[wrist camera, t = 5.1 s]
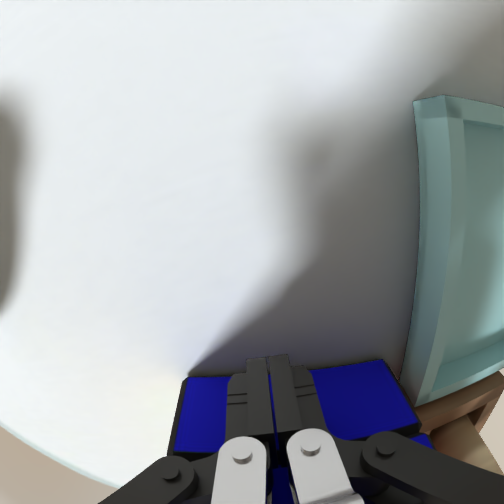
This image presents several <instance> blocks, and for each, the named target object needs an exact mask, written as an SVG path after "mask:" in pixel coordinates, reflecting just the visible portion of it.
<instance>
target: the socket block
mask: <svg viewBox="0 0 504 504" xmlns="http://www.w3.org/2000/svg"><path fill="white" fill-rule="evenodd" d="M401 388H402V389H403V391H404V393H405V395H406V396H407V398H408V400H409V402H410V403H411V405H412V407H413V409H414V410H415V412H416V414H417V416H418V417H419V419H420V421H421V423H422V427H421V429H420V431H419V432H421V433H426V434H427V435H430V432H431V430H432V429H435V428H437V427H439V426H442V425H444V424H446V423H448V422H451V421H453V420H455V419H457V418H459V417H461V416H463V415H465V414H466V415H467V417H468V418H469V420H470V421H471V423H472V424H473V426H474V427H475V429H476V430H477V432H478V433H479V432H480V431H481V429H482V428H483V426H484V424H485V423H486V421H487V419H488V417H489V416H490V414H491V412H492V410H493V409H494V407H495V405H496V403H497V401H498V399H499V397H500V395H501V394H502V392H503V390H504V376H503V375H502V374H501V373H500V372H499V370H498V371H497V372H495V373H493V374H491V375H489V376H487V377H485V378H483V379H481V380H479V381H477V382H475V383H473V384H471V385H468V386H466V387H464V388H462V389H460V390H457V391H455V392H453V393H450V394H448V395H445V396H443V397H441V398H438V399H436V400H433V401H430V402H428V403H425V404H422V405H420V406H417V407H414V406H413V404H412V402H411V400H410V399H409V397H408V395H407V394H406V392H405V390H404V388H403V387H402V386H401Z"/></svg>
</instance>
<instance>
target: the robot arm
mask: <svg viewBox="0 0 504 504" xmlns="http://www.w3.org/2000/svg"><path fill="white" fill-rule="evenodd" d="M268 359H269V367H270V375H271V384H272V392H273V401H274V409H275V418H276V426H277V435H278V443H279V452H280V460H281V468H284V467H287V468H288V476H289V486H290V491H291V495H292V499H293V504H364V503H365V504H504V476H503V475H500V474H497V473H494V472H491V471H488V470H485V469H482V468H480V467H477V466H474V465H471V464H469V463H466V462H463V461H461V460H458V459H456V458H453V457H451V456H448V455H446V454H443V453H441V452H438V451H436V450H434V449H431V448H429V447H427V446H424V445H422V444H420V443H417V442H415V441H413V440H411V439H409V438H406V437H404V436H402V435H400V434H398V433H395V432H391V431H383V432H378V433H376V434H374V435H372V436H370V437H369V438H368V439H367V440H366V441H348V440H343V439H340V438H337V437H335V436H334V435H332V434H331V433H330V432H329V430H328V429H327V427H326V424H325V420H324V417H323V413H322V409H321V406H320V402H319V399H318V395H317V391H316V388H315V385H314V381H313V377H312V374H311V373H310V372H309V371H308V370H307V369H306V368H305V367H304V366H303V365H302V366H295V367H290V363H289V358H288V354H284V355H277V356H269V357H268ZM246 365H247V373H237V374H233V376H232V378H231V379H230V381H229V382H228V388H227V409H226V432H225V441H224V444H223V445H222V447H221V448H220V450H219V451H217V452H216V453H215V454H213V455H211V456H209V457H207V458H203V459H200V460H196V461H192V462H189V461H188V460H186V459H185V458H182V457H179V456H166V457H163V458H160V459H158V460H157V461H155V462H154V463H153V464H152V465H150V466H149V467H148V468H146V469H145V470H144V471H143V472H141V473H140V474H139V475H137V476H136V477H135V478H133V479H132V480H131V481H129V482H128V483H127V484H125V485H124V486H122V487H121V488H120V489H118V490H117V491H116V492H114V493H113V494H111V495H110V496H108V497H107V498H106V499H104V500H103V501H101V502H100V503H98V504H273V485H274V479H273V469H277V468H279V467H278V458H277V449H276V440H275V431H274V421H273V412H272V403H271V395H270V386H269V378H268V370H267V362H266V357H261V358H252V359H247V360H246Z"/></svg>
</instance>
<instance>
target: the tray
mask: <svg viewBox="0 0 504 504" xmlns="http://www.w3.org/2000/svg"><path fill="white" fill-rule="evenodd" d="M413 107H414V115H415V124H416V133H417V144H418V158H419V179H420V229H419V250H418V265H417V276H416V286H415V295H414V303H413V310H412V317H411V324H410V330H409V335H408V341H407V346H406V352H405V357H404V361H403V366H402V370H401V375H400V379H399V382H400V383H401V385H402V387H403V388H404V390H405V392H406V394H407V395H408V397H409V399H410V400H411V402H412V404H413V406H414V407H417V406H420V405H422V404H425V403H428V402H430V401H433V400H436V399H438V398H441V397H443V396H445V395H448V394H450V393H453V392H455V391H457V390H460V389H462V388H464V387H466V386H468V385H471V384H473V383H475V382H477V381H479V380H481V379H483V378H485V377H487V376H489V375H491V374H493V373H495V372H497V371H498V370H500V369H502V368H504V107H501V106H497V105H493V104H488V103H484V102H480V101H475V100H470V99H465V98H460V97H454V96H448V95H441V96H436V97H431V98H426V99H421V100H417V101H413Z"/></svg>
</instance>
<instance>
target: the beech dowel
mask: <svg viewBox="0 0 504 504" xmlns="http://www.w3.org/2000/svg"><path fill="white" fill-rule="evenodd" d="M429 437H430V439H431V440H432V442H433V444H434V446H435V448H436V450H437V451H438V452H441V453H443V454H446V455H448V456H451V457H453V458H456V459H458V460H461V461H463V462H466V463H469V464H471V465H474V466H477V467H480V468H482V469H485V470H488V471H491V472H494V473H497V474H500V475H503V476H504V474H503V472H502V470H501V469H500V467H499V465H498V464H497V462H496V460H495V459H494V457H493V455H492V454H491V452H490V450H489V449H488V447H487V446H486V444H485V443H484V441H483V439H482V438H481V436H480V435H479V433H478V432H477V430H476V429H475V427H474V426H473V424H472V423H471V421H470V420H469V418H468V417H467V415H466V414H465V415H463V416H461V417H459V418H457V419H455V420H453V421H451V422H448V423H446V424H444V425H442V426H439V427H437V428H435V429H432V430H431V432H430V435H429Z"/></svg>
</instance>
